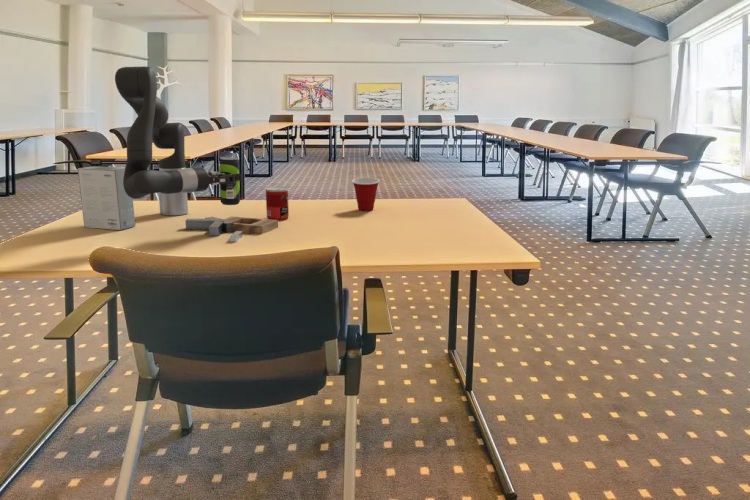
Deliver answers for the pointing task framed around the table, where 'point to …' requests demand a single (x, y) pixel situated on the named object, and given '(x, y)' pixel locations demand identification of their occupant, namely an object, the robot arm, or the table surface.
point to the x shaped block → (210, 225)
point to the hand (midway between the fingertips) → (235, 175)
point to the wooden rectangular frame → (252, 224)
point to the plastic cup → (365, 192)
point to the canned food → (277, 203)
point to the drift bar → (236, 236)
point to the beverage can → (230, 190)
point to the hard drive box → (105, 198)
